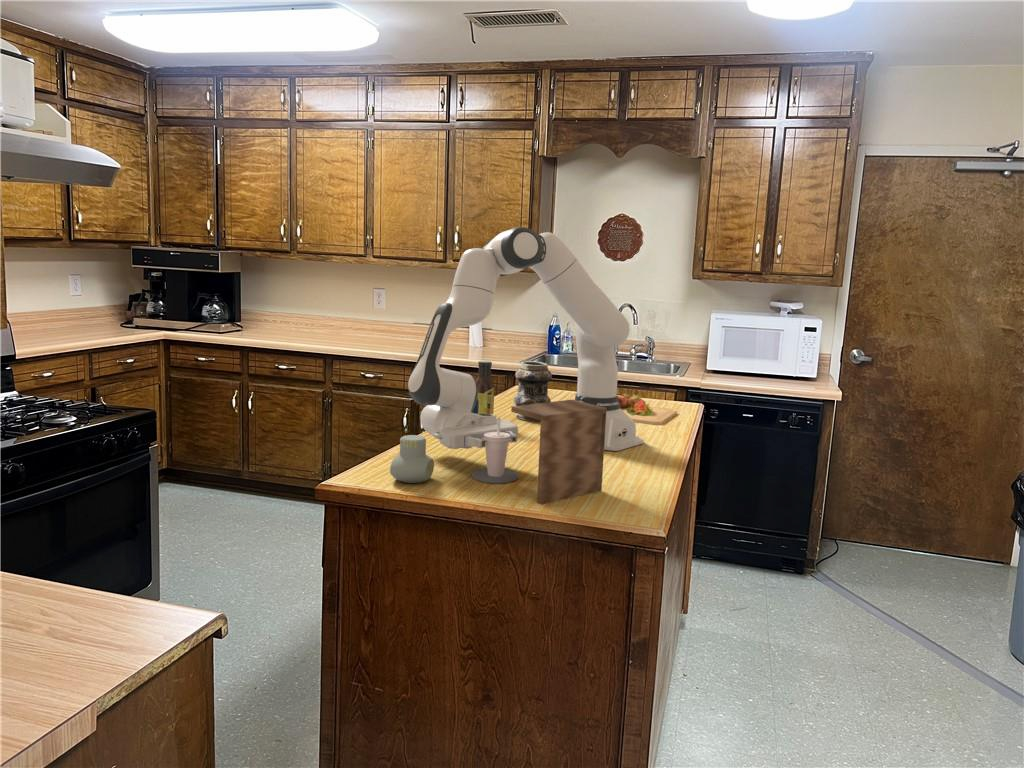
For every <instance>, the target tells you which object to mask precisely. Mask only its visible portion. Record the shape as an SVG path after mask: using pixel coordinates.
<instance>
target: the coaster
mask: <svg viewBox="0 0 1024 768" xmlns="http://www.w3.org/2000/svg"><path fill="white" fill-rule="evenodd" d="M519 475H520V474H519V473H518V472H516V471H514V470H511V469H507V468H504V474H503V476H500V477H493V476H489V475H488V471H487V467H486V468H480V469H476V470H474V471H473V472H472V473H471V477H473V478H474V479H473V478H472V479H473V480H475V481H477V482H480V483H484V482H485V484H491V483H492V485H495V484H496V485H500V484H501V485H504V484H510V483H514V482H517V481H518V480H519V477H520V476H519Z"/></svg>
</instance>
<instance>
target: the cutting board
mask: <svg viewBox="0 0 1024 768" xmlns="http://www.w3.org/2000/svg"><path fill="white" fill-rule="evenodd" d="M617 396H618V397H620V396H622V397H626V398H627V399H626V400H627V402H625V403H626V404H622V403H620V409H621V410H622V411H623V412H624V413H626V414H627V415H628V416H629V417H630V418H631V419H632V420H633V421H634V422H635V424H637V423H638V424H644V425H645V424H646V425H651V426H653V425H654V426H657V425H658V426H659V425H660V426H661V425H664V424H665V423H666V422H668V421H669V420H671V419H672V418H673V417H675V416H676V415H677V414H678V413H677V412H678V411H677V410H676V409H672V408H667V407H660V406H653V405H652V406H650V404H649V403H646V401H645V400H644V399H642V397H641V396H639V395H637V394H634V395H632V396H630V395H628V394H625V393H624V394H622V395H617Z"/></svg>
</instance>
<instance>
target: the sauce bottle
mask: <svg viewBox="0 0 1024 768" xmlns="http://www.w3.org/2000/svg"><path fill="white" fill-rule="evenodd" d="M477 363H478V374H477V375H478V376H477V378H476V379H475V381H476V384H477V388H478V397H477V398H478V401H479V409H478V414H493V415H494V409H495V408H494V407H495V406H494V405H495V386H494V382H493V378H492V364H493V363H492V361H490V360H479V361H478V362H477Z"/></svg>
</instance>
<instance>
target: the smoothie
mask: <svg viewBox="0 0 1024 768" xmlns="http://www.w3.org/2000/svg"><path fill="white" fill-rule="evenodd" d="M497 418H498V423H497V432H487V433H485V434H484V437H483V438H484V439H485V447H484V448H485V457H486V466H487V467H486V468H487V471H488V475H489V476H493V477H500V476H503V474H504V469H506V468H505V467H506V462H507V461H506V460H507V454H508V448H509V443H510V442H509V440H510V434H508V433H504V432H500V419H501V417H500V416H497Z"/></svg>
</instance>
